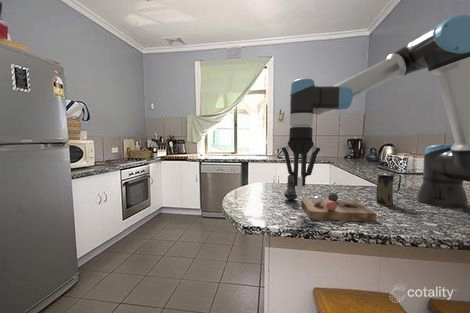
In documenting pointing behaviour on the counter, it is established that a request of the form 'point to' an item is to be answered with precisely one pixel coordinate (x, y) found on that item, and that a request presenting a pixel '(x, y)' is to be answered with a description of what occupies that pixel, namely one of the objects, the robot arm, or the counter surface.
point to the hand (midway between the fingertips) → (298, 195)
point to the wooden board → (339, 211)
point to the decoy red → (331, 205)
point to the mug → (386, 189)
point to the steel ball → (317, 200)
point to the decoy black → (333, 197)
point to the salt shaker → (290, 191)
